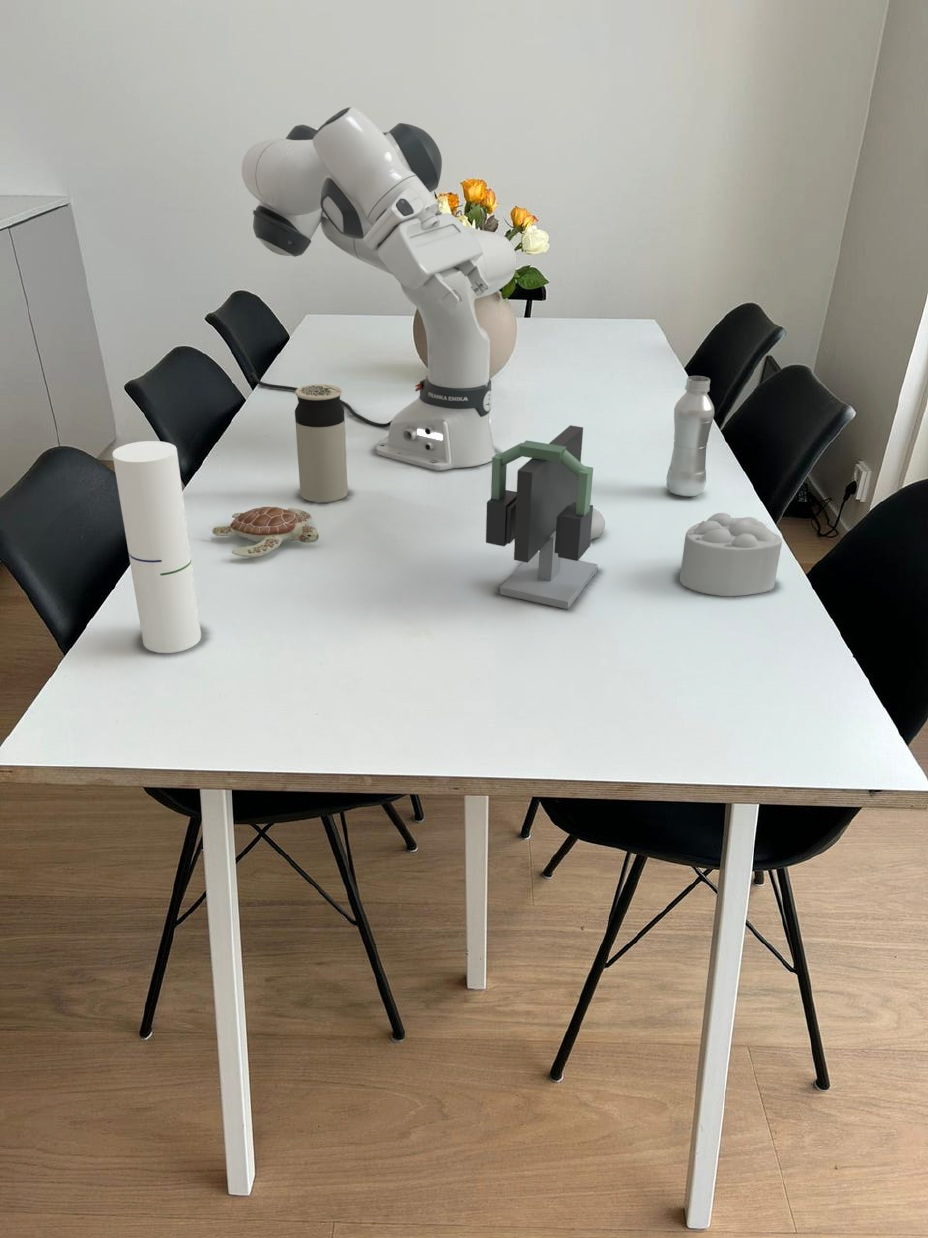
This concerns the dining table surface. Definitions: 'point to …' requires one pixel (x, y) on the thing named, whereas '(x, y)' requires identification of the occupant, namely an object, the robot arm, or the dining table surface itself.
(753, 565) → the lumpy-topped squat cylinder
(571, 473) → the monitor
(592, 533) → the donut
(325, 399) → the travel mug
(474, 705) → the dining table surface
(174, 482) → the cylindrical container
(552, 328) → the dining table surface
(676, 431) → the plastic bottle
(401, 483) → the dining table surface
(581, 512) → the headphones
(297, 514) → the decorative turtle
